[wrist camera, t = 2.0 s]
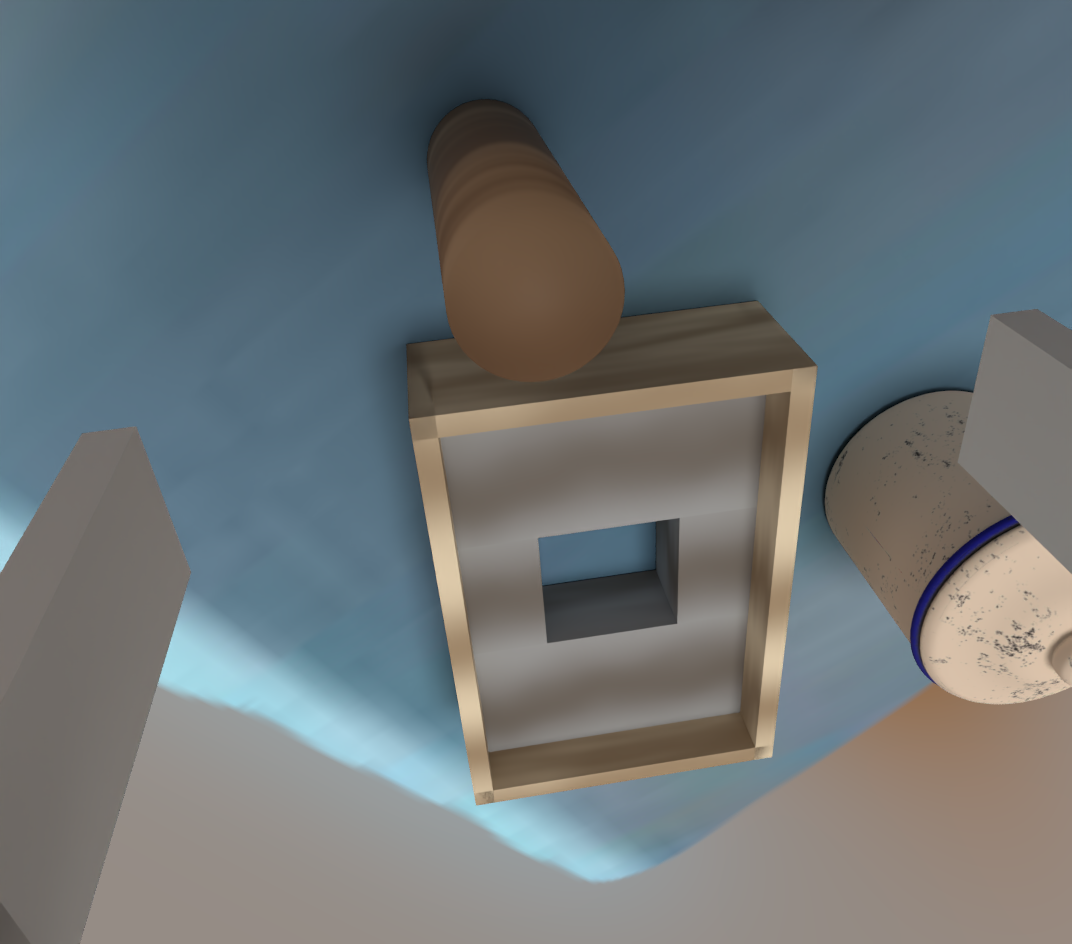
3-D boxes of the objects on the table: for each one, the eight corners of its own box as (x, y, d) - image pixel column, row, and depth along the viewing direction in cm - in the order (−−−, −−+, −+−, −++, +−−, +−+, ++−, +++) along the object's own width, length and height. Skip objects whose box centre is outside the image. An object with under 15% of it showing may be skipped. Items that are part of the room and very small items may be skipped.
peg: (418, 105, 27) (433, 222, 17) (539, 93, 28) (623, 200, 18) (435, 226, 29) (457, 392, 19) (547, 213, 30) (626, 370, 20)
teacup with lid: (882, 589, 42) (1032, 797, 32) (775, 484, 37) (910, 688, 28) (1113, 423, 38) (1359, 601, 28) (1023, 286, 34) (1277, 441, 24)
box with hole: (406, 344, 32) (408, 419, 27) (757, 300, 32) (817, 365, 28) (467, 706, 42) (476, 805, 37) (731, 665, 43) (771, 756, 38)
